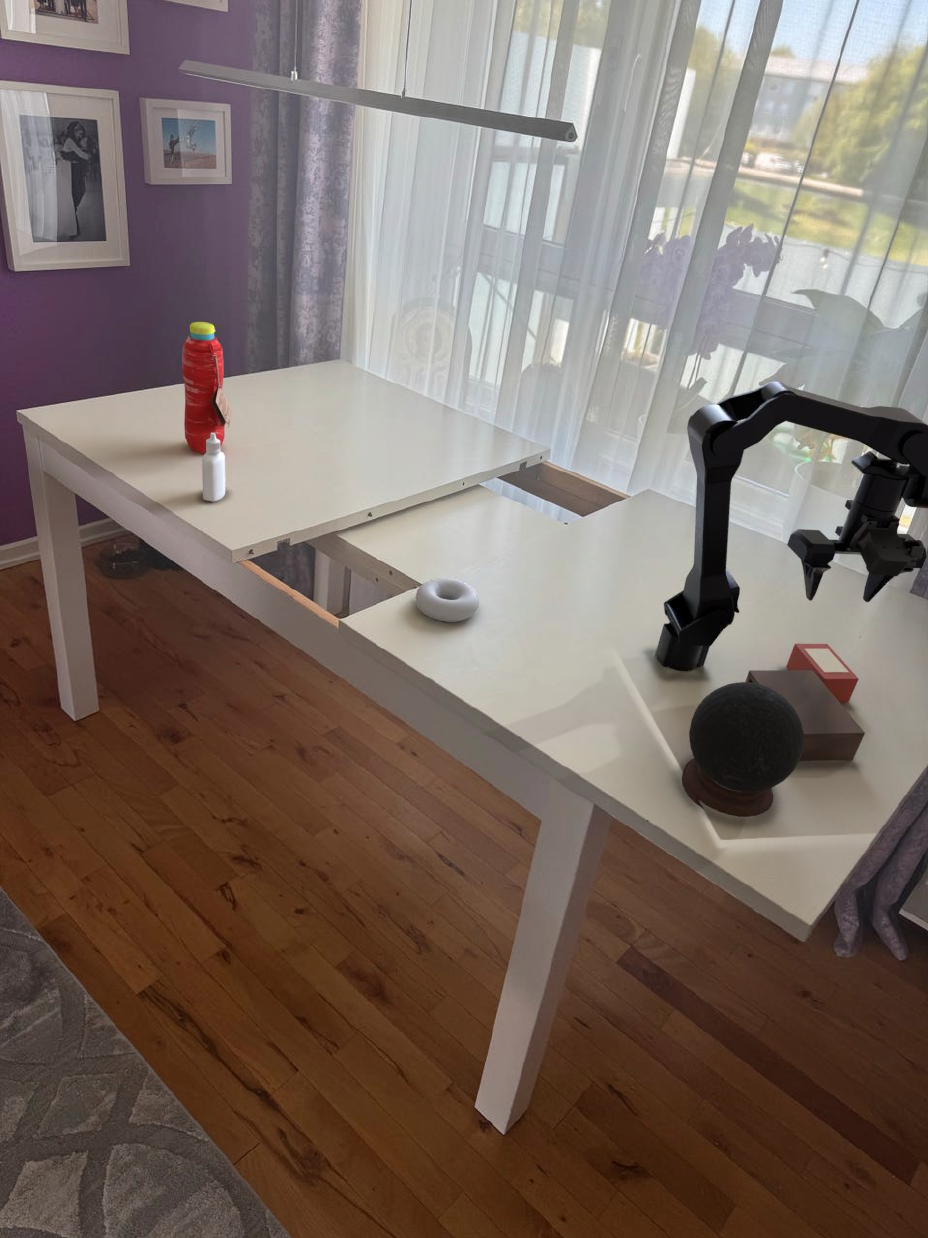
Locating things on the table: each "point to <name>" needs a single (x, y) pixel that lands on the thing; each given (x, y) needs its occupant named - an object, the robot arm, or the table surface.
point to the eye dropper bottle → (213, 470)
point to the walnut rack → (815, 714)
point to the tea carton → (824, 668)
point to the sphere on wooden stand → (741, 748)
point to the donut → (458, 602)
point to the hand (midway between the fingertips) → (837, 600)
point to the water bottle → (204, 387)
